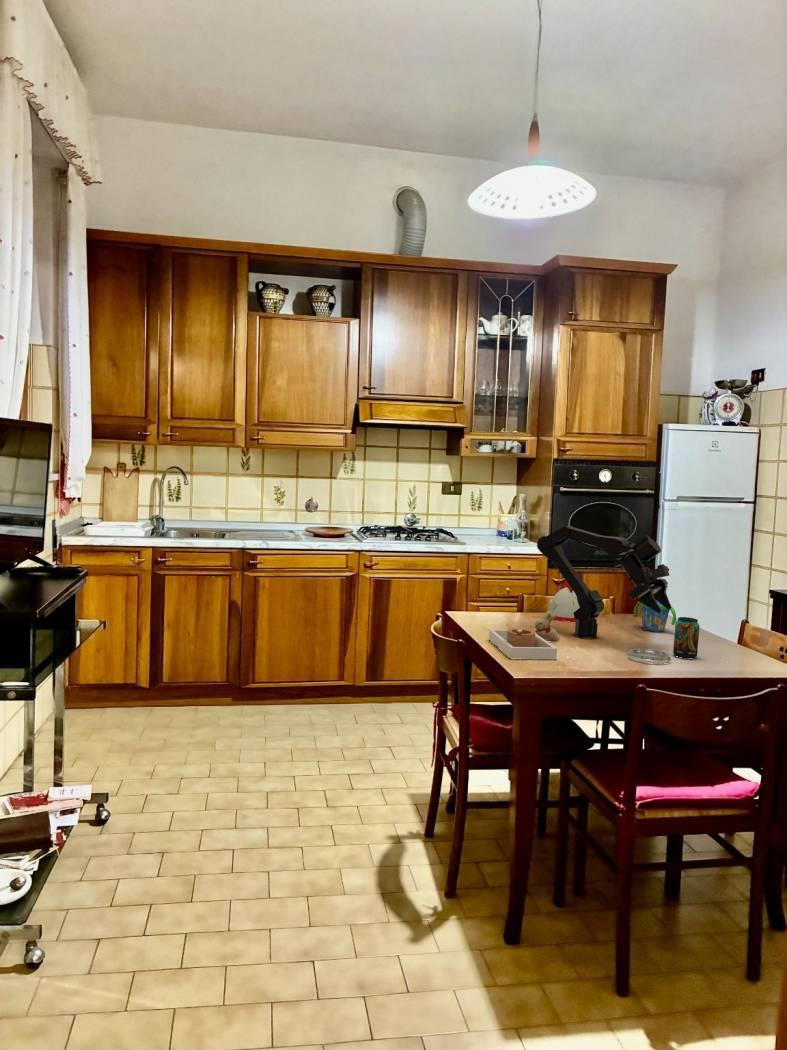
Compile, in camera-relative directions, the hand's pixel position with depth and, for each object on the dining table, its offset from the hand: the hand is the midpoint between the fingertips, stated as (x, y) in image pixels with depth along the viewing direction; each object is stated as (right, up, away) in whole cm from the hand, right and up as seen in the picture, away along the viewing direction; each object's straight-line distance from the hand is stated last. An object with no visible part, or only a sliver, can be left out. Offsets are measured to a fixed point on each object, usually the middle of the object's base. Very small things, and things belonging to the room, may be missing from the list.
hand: (665, 610), depth 244 cm
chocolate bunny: (-36, -11, +8) cm, 38 cm away
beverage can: (+4, -14, -5) cm, 16 cm away
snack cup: (+8, -11, +34) cm, 36 cm away
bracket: (-47, -12, -7) cm, 49 cm away
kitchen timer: (-21, -9, +48) cm, 53 cm away
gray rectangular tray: (-47, -11, -7) cm, 49 cm away
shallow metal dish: (-9, -14, -11) cm, 20 cm away
